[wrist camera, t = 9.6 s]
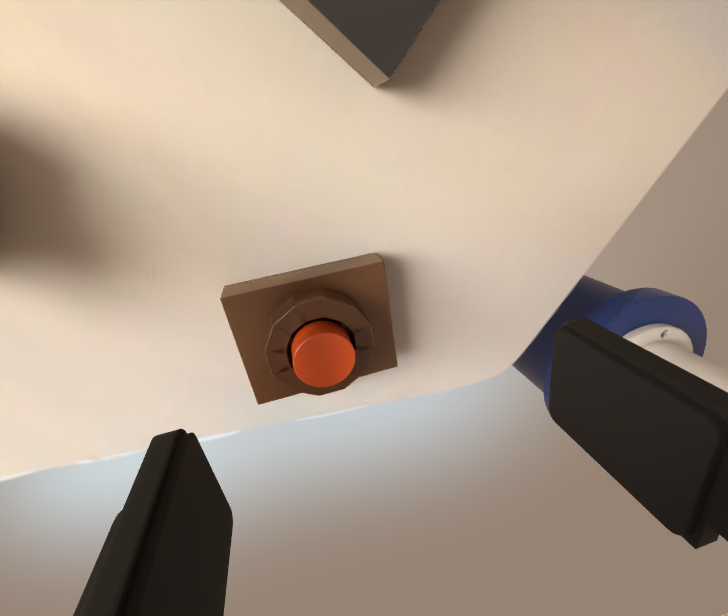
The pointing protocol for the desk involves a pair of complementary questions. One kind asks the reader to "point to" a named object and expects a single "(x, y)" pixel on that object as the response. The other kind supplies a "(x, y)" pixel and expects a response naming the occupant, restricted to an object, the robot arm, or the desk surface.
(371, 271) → the brown button mount
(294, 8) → the panel
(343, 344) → the timer button
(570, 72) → the desk surface
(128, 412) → the desk surface
